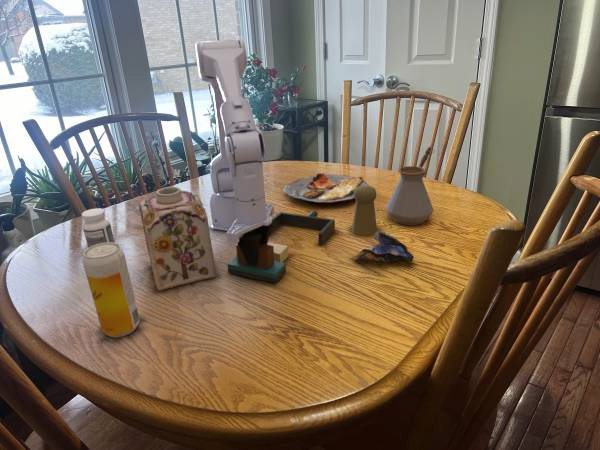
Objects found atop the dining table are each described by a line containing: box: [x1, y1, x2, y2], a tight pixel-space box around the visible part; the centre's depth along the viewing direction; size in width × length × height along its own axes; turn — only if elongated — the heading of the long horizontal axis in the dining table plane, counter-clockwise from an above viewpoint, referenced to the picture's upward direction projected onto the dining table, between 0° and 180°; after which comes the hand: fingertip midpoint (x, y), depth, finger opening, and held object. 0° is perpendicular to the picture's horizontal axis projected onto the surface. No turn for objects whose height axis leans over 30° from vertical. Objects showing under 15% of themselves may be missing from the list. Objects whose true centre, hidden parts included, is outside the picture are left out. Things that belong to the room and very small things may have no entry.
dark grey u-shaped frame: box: [270, 210, 336, 246], centre depth 107 cm, size 15×13×3 cm
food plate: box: [282, 172, 370, 204], centre depth 129 cm, size 25×23×4 cm
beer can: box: [81, 242, 140, 338], centre depth 71 cm, size 6×6×15 cm
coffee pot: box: [385, 146, 436, 226], centre depth 111 cm, size 21×12×15 cm, turn 149°
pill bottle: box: [81, 207, 116, 248], centre depth 99 cm, size 6×6×10 cm
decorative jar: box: [138, 186, 217, 291], centre depth 87 cm, size 12×12×18 cm
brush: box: [226, 243, 287, 284], centre depth 87 cm, size 11×4×6 cm, turn 65°
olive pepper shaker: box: [351, 185, 378, 237], centre depth 103 cm, size 6×6×11 cm
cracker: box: [267, 241, 290, 263], centre depth 94 cm, size 5×4×2 cm
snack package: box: [352, 230, 414, 262], centre depth 91 cm, size 12×6×12 cm
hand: (255, 260), depth 87 cm, fingers closed on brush, 2 cm apart
